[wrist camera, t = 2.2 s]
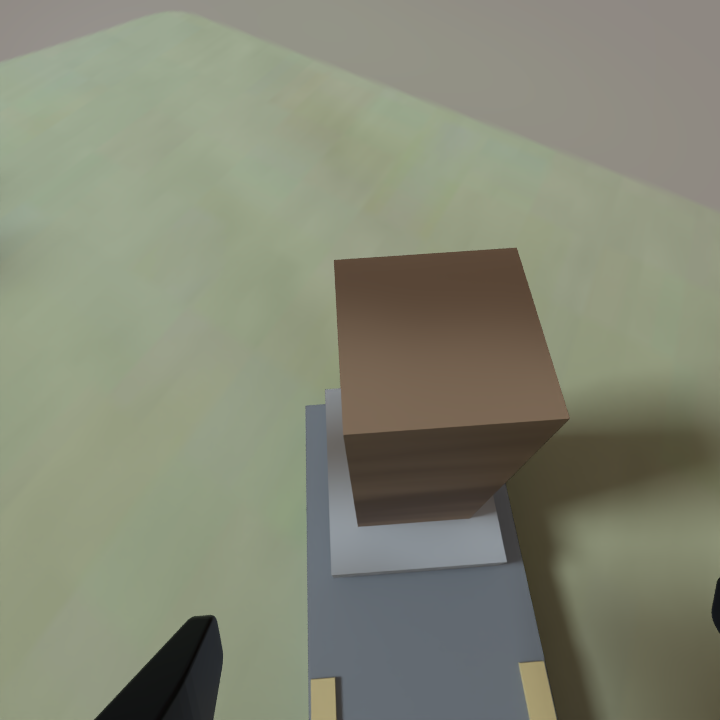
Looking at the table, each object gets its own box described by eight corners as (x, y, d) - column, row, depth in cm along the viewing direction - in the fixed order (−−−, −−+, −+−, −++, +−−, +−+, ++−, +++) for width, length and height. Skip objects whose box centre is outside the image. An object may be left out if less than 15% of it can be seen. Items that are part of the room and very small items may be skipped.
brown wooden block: (498, 565, 17) (658, 501, 7) (333, 578, 17) (284, 529, 7) (464, 391, 20) (544, 196, 11) (327, 401, 20) (288, 214, 11)
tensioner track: (605, 1010, 13) (694, 1159, 9) (318, 1036, 13) (299, 1195, 9) (478, 406, 22) (499, 366, 18) (309, 418, 22) (297, 380, 18)
